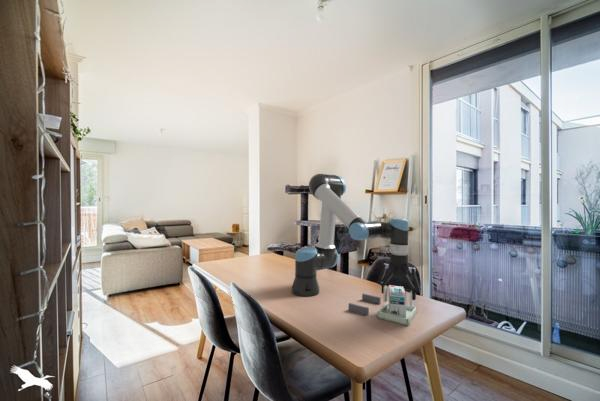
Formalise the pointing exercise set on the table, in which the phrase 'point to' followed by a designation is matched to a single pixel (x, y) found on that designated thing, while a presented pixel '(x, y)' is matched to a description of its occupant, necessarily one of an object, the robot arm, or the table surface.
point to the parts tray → (385, 315)
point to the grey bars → (361, 308)
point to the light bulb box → (397, 301)
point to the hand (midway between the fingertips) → (397, 303)
